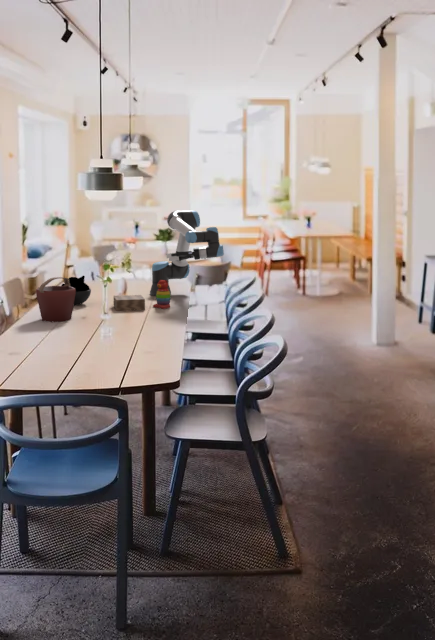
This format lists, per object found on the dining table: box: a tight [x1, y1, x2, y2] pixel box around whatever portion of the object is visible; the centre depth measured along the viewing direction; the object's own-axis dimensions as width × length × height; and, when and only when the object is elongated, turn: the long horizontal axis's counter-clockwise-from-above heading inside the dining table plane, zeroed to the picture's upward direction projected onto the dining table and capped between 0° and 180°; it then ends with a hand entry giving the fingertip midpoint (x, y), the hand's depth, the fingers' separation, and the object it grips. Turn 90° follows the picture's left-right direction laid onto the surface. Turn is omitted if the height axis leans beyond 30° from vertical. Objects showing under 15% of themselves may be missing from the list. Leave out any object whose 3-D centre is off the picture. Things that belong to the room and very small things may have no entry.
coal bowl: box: [60, 275, 92, 306], centre depth 519 cm, size 20×20×19 cm
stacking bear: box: [152, 280, 171, 310], centre depth 512 cm, size 11×10×18 cm
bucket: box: [35, 276, 76, 323], centre depth 466 cm, size 24×22×25 cm
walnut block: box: [113, 294, 146, 312], centre depth 508 cm, size 18×18×7 cm
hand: (167, 257), depth 515 cm, fingers open, 13 cm apart
